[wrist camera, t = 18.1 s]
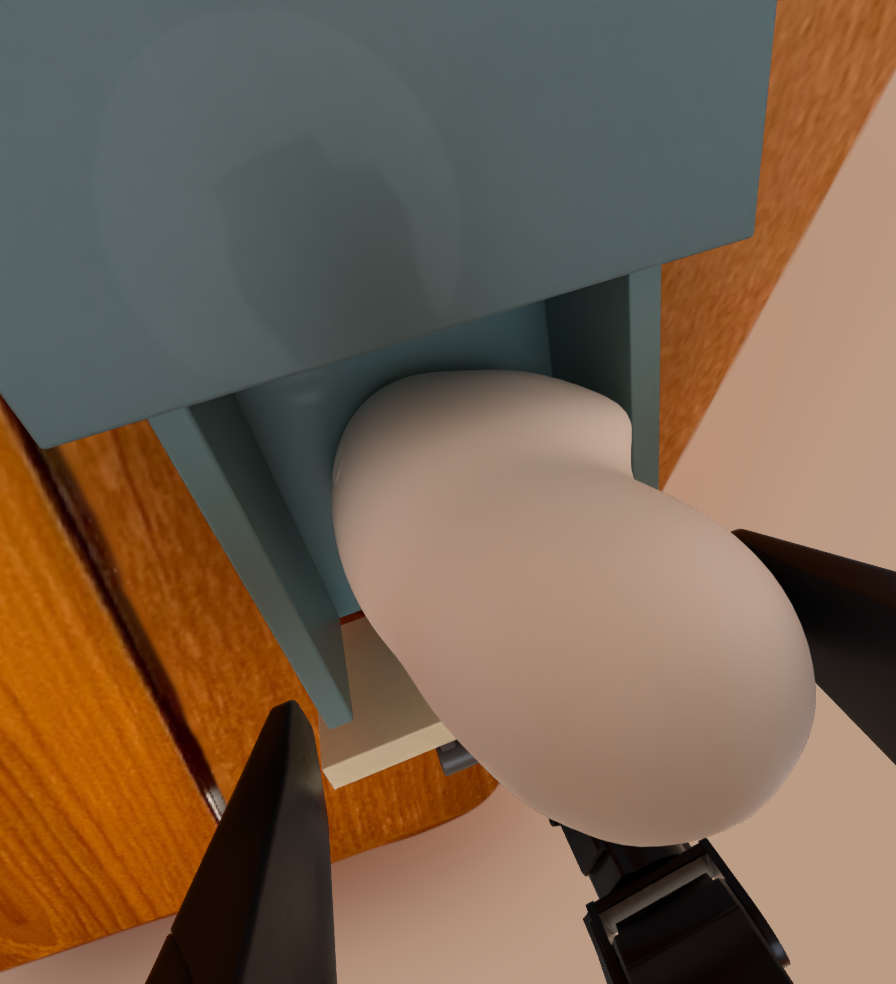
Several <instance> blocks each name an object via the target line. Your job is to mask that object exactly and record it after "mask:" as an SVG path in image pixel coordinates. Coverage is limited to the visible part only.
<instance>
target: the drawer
mask: <svg viewBox="0 0 896 984" xmlns="http://www.w3.org/2000/svg"><path fill="white" fill-rule="evenodd" d="M660 316H661V265H658V266H655V267H651V268H648V269H645V270H641V271H638V272H635V273H631V274H628V275H625V276H621V277H618V278H615V279H611V280H608V281H605V282H601V283H598V284H595V285H591V286H588V287H585V288H581V289H578V290H575V291H571V292H568V293H565V294H561V295H558V296H555V297H551V298H548V299H545V300H541V301H538V302H535V303H531V304H528V305H525V306H521V307H518V308H515V309H511V310H508V311H505V312H501V313H498V314H495V315H492V316H488V317H485V318H482V319H478V320H475V321H472V322H468V323H465V324H462V325H458V326H455V327H452V328H448V329H445V330H442V331H438V332H435V333H432V334H428V335H425V336H422V337H418V338H415V339H412V340H408V341H405V342H402V343H398V344H395V345H392V346H388V347H385V348H382V349H378V350H375V351H372V352H368V353H365V354H362V355H358V356H355V357H352V358H348V359H345V360H342V361H338V362H335V363H332V364H328V365H325V366H322V367H318V368H315V369H312V370H308V371H305V372H302V373H298V374H295V375H292V376H288V377H285V378H282V379H278V380H275V381H272V382H268V383H265V384H262V385H258V386H255V387H252V388H249V389H245V390H242V391H239V392H235V393H232V394H229V395H225V396H222V397H219V398H215V399H212V400H209V401H205V402H202V403H199V404H195V405H192V406H189V407H185V408H182V409H179V410H175V411H172V412H169V413H165V414H162V415H159V416H155V417H152V418H149V419H147V420H148V422H149V424H150V425H151V427H152V429H153V430H154V432H155V434H156V436H157V437H158V439H159V441H160V442H161V444H162V446H163V447H164V449H165V451H166V453H167V454H168V456H169V458H170V459H171V461H172V463H173V465H174V466H175V468H176V470H177V471H178V473H179V475H180V476H181V478H182V480H183V482H184V483H185V485H186V487H187V488H188V490H189V492H190V494H191V495H192V497H193V499H194V500H195V502H196V504H197V505H198V507H199V509H200V511H201V512H202V514H203V516H204V517H205V519H206V521H207V522H208V524H209V526H210V528H211V529H212V531H213V533H214V534H215V536H216V538H217V540H218V541H219V543H220V545H221V546H222V548H223V550H224V551H225V553H226V555H227V557H228V558H229V560H230V562H231V563H232V565H233V567H234V569H235V570H236V572H237V574H238V575H239V577H240V579H241V580H242V582H243V584H244V586H245V587H246V589H247V591H248V592H249V594H250V596H251V597H252V599H253V601H254V603H255V604H256V606H257V608H258V609H259V611H260V613H261V615H262V616H263V618H264V620H265V621H266V623H267V625H268V626H269V628H270V630H271V632H272V633H273V635H274V637H275V638H276V640H277V642H278V644H279V645H280V647H281V649H282V650H283V652H284V654H285V655H286V657H287V659H288V661H289V662H290V664H291V666H292V667H293V669H294V671H295V672H296V674H297V676H298V678H299V679H300V681H301V683H302V684H303V686H304V688H305V690H306V691H307V693H308V695H309V696H310V698H311V700H312V701H313V703H314V705H315V707H316V708H317V710H318V721H319V735H320V750H321V764H322V771H323V772H324V774H325V775H326V777H327V778H328V780H329V781H330V783H331V785H332V786H333V788H334V789H337V788H340V787H342V786H344V785H347V784H349V783H352V782H354V781H357V780H359V779H361V778H364V777H366V776H369V775H371V774H374V773H376V772H378V771H381V770H383V769H386V768H388V767H391V766H393V765H395V764H398V763H400V762H403V761H405V760H408V759H410V758H412V757H415V756H417V755H420V754H422V753H425V752H427V751H430V750H432V749H434V748H436V751H437V754H438V758H439V761H440V764H441V767H442V769H443V772H444V774H445V775H446V776H449V775H451V774H453V773H456V772H458V771H461V770H463V769H465V768H468V767H470V766H472V765H475V764H477V763H479V762H478V761H477V760H476V759H475V758H474V757H473V756H472V755H471V754H470V753H469V752H468V751H467V750H466V749H465V748H464V747H463V745H462V744H461V743H460V742H459V741H458V740H457V739H456V738H455V737H454V736H453V735H452V733H451V732H450V731H449V730H448V729H447V728H446V726H445V725H444V724H443V723H442V722H441V720H440V719H439V718H438V717H437V715H436V714H435V713H434V711H433V710H432V709H431V707H430V706H429V705H428V703H427V702H426V700H425V699H424V697H423V696H422V694H421V693H420V691H419V690H418V688H417V687H416V685H415V683H414V682H413V680H412V679H411V677H410V676H409V674H408V673H407V671H406V670H405V668H404V667H403V665H402V664H401V662H400V661H399V660H398V658H397V657H396V656H395V655H394V653H393V652H392V651H391V650H390V649H389V647H388V646H387V645H386V644H385V642H384V641H383V640H382V639H381V637H380V636H379V635H378V633H377V632H376V631H375V629H374V628H373V626H372V625H371V623H370V622H369V620H368V619H367V617H366V616H365V617H362V618H360V619H357V620H354V621H352V622H349V623H346V624H344V625H341V624H340V618H341V617H344V616H346V615H349V614H352V613H355V612H357V611H360V610H362V609H361V607H360V605H359V603H358V601H357V599H356V597H355V595H354V593H353V591H352V589H351V587H350V584H349V582H348V579H347V577H346V574H345V572H344V568H343V565H342V562H341V559H340V556H339V552H338V548H337V544H336V538H335V533H334V526H333V518H332V506H331V484H332V472H333V465H334V460H335V455H336V451H337V448H338V445H339V442H340V439H341V437H342V435H343V432H344V430H345V428H346V426H347V425H348V423H349V421H350V420H351V418H352V416H353V415H354V414H355V412H356V411H357V410H358V409H359V407H360V406H361V405H362V404H363V403H364V402H365V401H366V400H367V399H368V398H369V397H371V396H372V395H373V394H374V393H376V392H377V391H379V390H380V389H382V388H383V387H385V386H387V385H389V384H391V383H393V382H395V381H397V380H400V379H402V378H406V377H409V376H413V375H417V374H423V373H429V372H442V371H464V370H514V371H525V372H530V373H536V374H542V375H546V376H549V377H553V378H557V379H561V380H564V381H567V382H570V383H573V384H576V385H579V386H582V387H584V388H587V389H589V390H592V391H594V392H597V393H599V394H601V395H604V396H606V397H607V398H609V399H611V400H612V401H614V402H616V403H617V404H619V405H620V406H621V407H622V409H623V410H624V411H625V412H626V413H627V415H628V417H629V420H630V422H631V426H632V443H631V469H632V474H633V478H634V480H637V481H639V482H641V483H644V484H646V485H648V486H650V487H653V488H655V489H657V490H659V404H660Z"/></svg>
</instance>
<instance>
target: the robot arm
mask: <svg viewBox="0 0 896 984" xmlns="http://www.w3.org/2000/svg"><path fill="white" fill-rule="evenodd" d="M731 533H732V534H733V535H735V536H736V537H737V538H738V539H739V540H740V541H741V542H743V543H744V544H745V545H746V546H747V547H748V548H749V549H750V550H751V551H752V552H753V553H754V554H755V555H756V556H757V557H758V558H759V559H760V560H761V561H762V563H763V564H764V565H765V566H766V567H767V569H768V570H769V571H770V572H771V573H772V575H773V576H774V577H775V579H776V580H777V582H778V583H779V584H780V586H781V587H782V589H783V590H784V592H785V594H786V595H787V597H788V599H789V601H790V602H791V604H792V606H793V608H794V610H795V612H796V614H797V617H798V619H799V621H800V623H801V626H802V628H803V631H804V634H805V637H806V640H807V643H808V646H809V650H810V654H811V659H812V664H813V669H814V678H815V683H816V684H817V685H818V686H819V687H820V688H821V689H822V690H823V691H824V692H825V693H826V694H827V695H828V696H829V697H830V698H831V699H832V700H833V701H834V702H835V703H836V704H837V705H838V706H839V707H840V708H841V709H842V710H843V711H844V712H845V713H846V714H847V716H848V717H849V718H850V719H851V720H852V721H853V722H854V723H855V724H856V725H857V726H858V727H859V728H860V729H861V730H862V731H863V732H864V733H865V734H866V735H867V736H868V737H869V738H870V739H871V740H872V741H873V742H874V743H875V744H876V745H877V746H878V747H879V748H880V749H881V750H882V752H884V754H885V755H886V756H887V757H888V758H889V759H890V760H891V761H892V762H893V763H894V764H895V765H896V572H895V571H892V570H888V569H885V568H881V567H877V566H874V565H870V564H867V563H863V562H859V561H855V560H852V559H849V558H845V557H842V556H838V555H834V554H831V553H827V552H823V551H820V550H817V549H813V548H809V547H805V546H802V545H799V544H795V543H791V542H788V541H784V540H781V539H777V538H774V537H770V536H766V535H762V534H759V533H756V532H752V531H748V530H744V529H737V530H734V531H731ZM549 822H550V824H551V826H553V827H556V826H561V827H562V830H563V832H564V834H565V836H566V838H567V841H568V843H569V845H570V847H571V849H572V851H573V854H574V856H575V858H576V860H577V863H578V865H579V867H580V869H581V871H582V873H583V874H584V875H585V876H589V878H590V880H591V882H592V884H593V886H594V888H595V891H596V893H597V895H598V897H599V900H597V901H595V902H593V901H592V902H590V903H588V904H586V908H587V910H588V913H587V915H586V916H585V917H584V918H583V920H584V923H585V925H586V928H587V930H588V933H589V935H590V937H591V940H592V942H593V944H594V947H595V950H596V952H597V955H598V958H599V961H600V964H601V967H602V970H603V973H604V976H605V979H606V982H607V984H793V982H792V980H791V979H790V977H789V976H788V974H787V973H786V971H785V970H784V968H785V967H787V966H788V965H790V960H789V958H788V956H787V955H786V952H785V951H784V949H783V947H782V945H781V944H780V942H779V940H778V938H777V937H776V935H775V934H774V932H773V930H772V929H771V927H770V926H769V924H768V923H767V921H766V920H765V918H764V917H763V915H762V914H761V912H760V911H759V910H758V908H757V907H756V905H755V904H754V902H753V901H752V899H751V898H750V897H749V895H748V894H747V893H746V891H745V890H744V888H743V887H742V886H741V884H740V883H739V882H738V880H737V879H736V878H735V876H734V875H733V874H732V872H731V871H730V869H729V868H728V867H727V865H726V864H725V863H724V861H723V860H722V858H721V857H720V856H719V854H718V853H717V852H716V850H715V849H714V847H713V846H712V845H711V843H710V842H709V841H708V839H707V838H703V839H701V840H699V841H698V842H699V843H698V844H696V845H694V846H692V847H691V846H690V844H689V843H688V842H687V843H683V844H675V845H667V846H648V847H639V846H630V845H621V844H617V843H613V842H608V841H604V840H601V839H598V838H595V837H592V836H590V835H587V834H585V833H582V832H580V831H577V830H575V829H572V828H570V827H568V826H565V825H563V824H561V823H559V822H556V821H554V820H552V819H550V818H549ZM713 877H714V879H715V880H712V878H713ZM171 932H172V934H169V935H168V936H167V937H166V940H165V942H164V944H163V947H162V949H161V951H160V953H159V955H158V957H157V959H156V961H155V964H154V966H153V968H152V970H151V972H150V974H149V976H148V978H147V981H146V982H145V984H337V974H336V955H335V937H334V918H333V901H332V880H331V862H330V843H329V827H328V817H327V810H326V803H325V797H324V791H323V785H322V779H321V773H320V767H319V761H318V755H317V749H316V743H315V737H314V733H313V729H312V727H311V724H310V723H309V721H308V719H307V718H306V716H305V714H304V713H303V711H302V710H301V708H300V706H299V705H298V703H297V702H296V701H294V700H290V701H288V702H285V703H282V704H280V705H277V706H275V707H273V708H272V710H271V711H270V713H269V715H268V717H267V719H266V722H265V724H264V726H263V728H262V730H261V732H260V735H259V737H258V739H257V741H256V743H255V746H254V748H253V750H252V752H251V754H250V757H249V759H248V761H247V763H246V765H245V767H244V770H243V772H242V774H241V776H240V778H239V781H238V783H237V785H236V787H235V789H234V791H233V794H232V796H231V798H230V800H229V802H228V805H227V807H226V809H225V811H224V813H223V815H222V818H221V820H220V822H219V824H218V826H217V829H216V831H215V833H214V835H213V837H212V840H211V842H210V844H209V846H208V848H207V850H206V853H205V855H204V857H203V859H202V861H201V864H200V866H199V868H198V870H197V872H196V874H195V877H194V879H193V881H192V883H191V885H190V888H189V890H188V892H187V894H186V896H185V899H184V901H183V903H182V905H181V907H180V909H179V912H178V914H177V916H176V918H175V921H174V923H173V925H172V927H171ZM616 932H618V935H615V933H616Z"/></svg>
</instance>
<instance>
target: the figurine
mask: <svg viewBox="0 0 896 984" xmlns="http://www.w3.org/2000/svg"><path fill="white" fill-rule="evenodd" d="M631 443H632V426H631V422H630V420H629V417H628V415H627V413H626V412H625V411H624V410H623V409H622V407H621V406H620V405H619V404H617V403H616V402H614V401H612V400H611V399H609V398H607V397H606V396H604V395H601V394H599V393H597V392H594V391H592V390H589V389H587V388H584V387H582V386H579V385H576V384H573V383H570V382H567V381H564V380H561V379H557V378H553V377H549V376H546V375H542V374H536V373H530V372H525V371H514V370H464V371H442V372H429V373H423V374H417V375H413V376H409V377H406V378H402V379H400V380H397V381H395V382H393V383H391V384H389V385H387V386H385V387H383V388H382V389H380V390H379V391H377V392H376V393H374V394H373V395H372V396H371V397H369V398H368V399H367V400H366V401H365V402H364V403H363V404H362V405H361V406H360V407H359V409H358V410H357V411H356V412H355V414H354V415H353V416H352V418H351V420H350V421H349V423H348V425H347V426H346V428H345V430H344V432H343V435H342V437H341V439H340V442H339V445H338V448H337V451H336V455H335V460H334V465H333V472H332V484H331V506H332V518H333V526H334V533H335V538H336V544H337V548H338V552H339V556H340V559H341V562H342V565H343V568H344V572H345V574H346V577H347V579H348V582H349V584H350V587H351V589H352V591H353V593H354V595H355V597H356V599H357V601H358V603H359V605H360V607H361V609H362V610H363V612H364V614H365V616H366V617H367V619H368V620H369V622H370V623H371V625H372V626H373V628H374V629H375V631H376V632H377V633H378V635H379V636H380V637H381V639H382V640H383V641H384V642H385V644H386V645H387V646H388V647H389V649H390V650H391V651H392V652H393V653H394V655H395V656H396V657H397V658H398V660H399V661H400V662H401V664H402V665H403V667H404V668H405V670H406V671H407V673H408V674H409V676H410V677H411V679H412V680H413V682H414V683H415V685H416V687H417V688H418V690H419V691H420V693H421V694H422V696H423V697H424V699H425V700H426V702H427V703H428V705H429V706H430V707H431V709H432V710H433V711H434V713H435V714H436V715H437V717H438V718H439V719H440V720H441V722H442V723H443V724H444V725H445V726H446V728H447V729H448V730H449V731H450V732H451V733H452V735H453V736H454V737H455V738H456V739H457V740H458V741H459V742H460V743H461V744H462V745H463V747H464V748H465V749H466V750H467V751H468V752H469V753H470V754H471V755H472V756H473V757H474V758H475V759H476V760H477V761H478V762H479V763H480V764H481V765H482V766H483V767H484V768H485V769H486V770H487V771H488V772H489V773H490V774H491V775H492V776H493V777H494V778H495V779H496V780H497V781H498V782H499V783H501V784H502V785H503V786H504V787H505V788H506V789H507V790H508V791H510V792H511V793H512V794H513V795H515V796H516V797H517V798H518V799H519V800H521V801H522V802H523V803H525V804H526V805H528V806H529V807H531V808H533V809H534V810H536V811H537V812H539V813H541V814H543V815H545V816H546V817H548V818H550V819H552V820H554V821H556V822H559V823H561V824H563V825H565V826H568V827H570V828H572V829H575V830H577V831H580V832H582V833H585V834H587V835H590V836H592V837H595V838H598V839H601V840H604V841H608V842H613V843H617V844H621V845H630V846H639V847H648V846H667V845H675V844H683V843H687V842H691V841H695V840H699V839H703V838H706V837H709V836H712V835H714V834H718V833H720V832H723V831H725V830H728V829H729V828H732V827H734V826H736V825H737V824H740V823H742V822H743V821H745V820H746V819H748V818H749V817H751V816H752V815H754V814H755V813H756V812H757V811H758V810H759V809H760V808H762V807H763V806H764V805H765V804H766V803H767V802H768V801H769V800H770V799H771V798H772V797H773V796H774V795H775V794H776V792H777V791H778V790H779V789H780V787H781V786H782V784H783V783H784V781H785V780H786V779H787V777H788V776H789V774H790V772H791V771H792V769H793V768H794V766H795V764H796V763H797V761H798V759H799V757H800V755H801V754H802V752H803V750H804V747H805V745H806V743H807V740H808V738H809V734H810V731H811V727H812V724H813V720H814V713H815V703H816V701H815V700H816V699H815V697H816V686H815V678H814V669H813V664H812V659H811V654H810V650H809V646H808V643H807V640H806V637H805V634H804V631H803V628H802V626H801V623H800V621H799V619H798V617H797V614H796V612H795V610H794V608H793V606H792V604H791V602H790V601H789V599H788V597H787V595H786V594H785V592H784V590H783V589H782V587H781V586H780V584H779V583H778V582H777V580H776V579H775V577H774V576H773V575H772V573H771V572H770V571H769V570H768V569H767V567H766V566H765V565H764V564H763V563H762V561H761V560H760V559H759V558H758V557H757V556H756V555H755V554H754V553H753V552H752V551H751V550H750V549H749V548H748V547H747V546H746V545H745V544H744V543H743V542H741V541H740V540H739V539H738V538H737V537H736V536H735V535H733V534H732V533H731V532H730V531H728V530H727V529H726V528H725V527H723V526H722V525H720V524H719V523H717V522H716V521H715V520H713V519H712V518H710V517H709V516H707V515H705V514H704V513H702V512H700V511H698V510H697V509H695V508H693V507H691V506H689V505H687V504H686V503H684V502H682V501H680V500H677V499H676V498H674V497H672V496H669V495H668V494H665V493H663V492H661V491H659V490H657V489H655V488H653V487H650V486H648V485H646V484H644V483H641V482H639V481H637V480H634V478H633V474H632V469H631Z"/></svg>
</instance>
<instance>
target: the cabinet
mask: <svg viewBox="0 0 896 984" xmlns="http://www.w3.org/2000/svg"><path fill="white" fill-rule="evenodd" d="M776 5H777V0H0V394H1V395H2V397H3V398H4V399H5V401H6V402H7V403H8V405H9V406H10V408H11V409H12V410H13V412H14V413H15V414H16V416H17V417H18V418H19V420H20V421H21V422H22V424H23V425H24V427H25V428H26V429H27V431H28V432H29V433H30V435H31V436H32V437H33V439H34V440H35V442H36V443H37V444H38V446H39V447H40V448H42V449H49V448H52V447H55V446H59V445H62V444H65V443H69V442H72V441H75V440H79V439H82V438H85V437H89V436H92V435H95V434H99V433H102V432H105V431H109V430H112V429H115V428H119V427H122V426H125V425H129V424H132V423H135V422H139V421H142V420H145V419H149V418H152V417H155V416H159V415H162V414H165V413H169V412H172V411H175V410H179V409H182V408H185V407H189V406H192V405H195V404H199V403H202V402H205V401H209V400H212V399H215V398H219V397H222V396H225V395H229V394H232V393H235V392H239V391H242V390H245V389H249V388H252V387H255V386H258V385H262V384H265V383H268V382H272V381H275V380H278V379H282V378H285V377H288V376H292V375H295V374H298V373H302V372H305V371H308V370H312V369H315V368H318V367H322V366H325V365H328V364H332V363H335V362H338V361H342V360H345V359H348V358H352V357H355V356H358V355H362V354H365V353H368V352H372V351H375V350H378V349H382V348H385V347H388V346H392V345H395V344H398V343H402V342H405V341H408V340H412V339H415V338H418V337H422V336H425V335H428V334H432V333H435V332H438V331H442V330H445V329H448V328H452V327H455V326H458V325H462V324H465V323H468V322H472V321H475V320H478V319H482V318H485V317H488V316H492V315H495V314H498V313H501V312H505V311H508V310H511V309H515V308H518V307H521V306H525V305H528V304H531V303H535V302H538V301H541V300H545V299H548V298H551V297H555V296H558V295H561V294H565V293H568V292H571V291H575V290H578V289H581V288H585V287H588V286H591V285H595V284H598V283H601V282H605V281H608V280H611V279H615V278H618V277H621V276H625V275H628V274H631V273H635V272H638V271H641V270H645V269H648V268H651V267H655V266H658V265H661V264H665V263H668V262H671V261H675V260H678V259H681V258H685V257H688V256H691V255H695V254H698V253H701V252H705V251H708V250H711V249H715V248H718V247H721V246H725V245H728V244H731V243H734V242H738V241H741V240H744V239H748V238H750V237H752V236H753V234H754V226H755V216H756V206H757V196H758V186H759V176H760V166H761V156H762V146H763V136H764V126H765V116H766V106H767V96H768V86H769V76H770V66H771V56H772V46H773V35H774V25H775V15H776Z"/></svg>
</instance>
